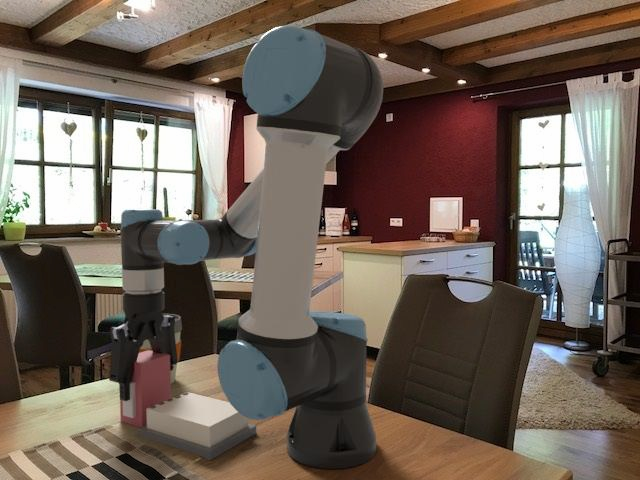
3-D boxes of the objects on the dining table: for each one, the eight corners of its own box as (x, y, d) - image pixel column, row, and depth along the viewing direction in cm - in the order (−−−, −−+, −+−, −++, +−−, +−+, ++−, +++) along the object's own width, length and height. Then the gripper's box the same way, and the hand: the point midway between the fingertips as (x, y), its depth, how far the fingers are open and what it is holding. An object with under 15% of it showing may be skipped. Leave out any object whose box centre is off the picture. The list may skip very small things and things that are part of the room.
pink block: (171, 415, 105) (169, 354, 104) (142, 427, 99) (140, 363, 98) (149, 409, 108) (148, 350, 107) (120, 421, 102) (119, 358, 101)
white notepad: (256, 433, 97) (256, 405, 97) (210, 460, 87) (209, 428, 86) (187, 414, 106) (187, 388, 106) (138, 436, 96) (138, 408, 95)
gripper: (169, 282, 112) (171, 390, 114) (83, 296, 95) (87, 423, 97) (195, 285, 108) (197, 397, 110) (111, 300, 91) (114, 432, 93)
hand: (146, 409), depth 103 cm, fingers closed on pink block, 7 cm apart
